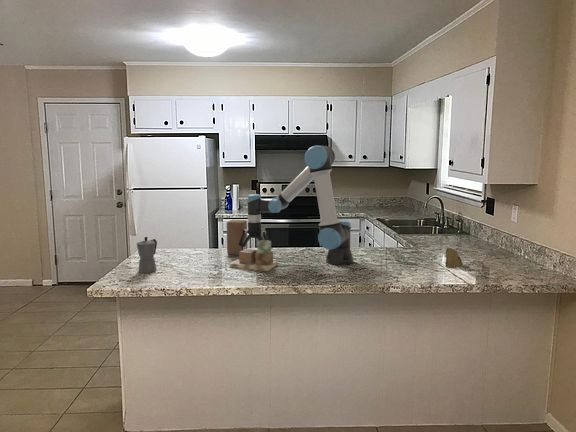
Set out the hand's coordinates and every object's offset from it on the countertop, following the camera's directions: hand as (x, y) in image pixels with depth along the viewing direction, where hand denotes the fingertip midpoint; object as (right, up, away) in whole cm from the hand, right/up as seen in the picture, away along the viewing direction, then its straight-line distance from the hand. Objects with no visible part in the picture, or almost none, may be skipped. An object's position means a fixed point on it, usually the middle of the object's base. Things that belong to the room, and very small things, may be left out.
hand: (254, 258), depth 255 cm
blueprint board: (0, -2, -16) cm, 16 cm away
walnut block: (-3, 0, -15) cm, 15 cm away
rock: (+108, -3, -17) cm, 110 cm away
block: (-12, +2, +14) cm, 18 cm away
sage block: (0, 0, 0) cm, 0 cm away
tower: (+6, -1, -18) cm, 19 cm away
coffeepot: (-53, -4, -24) cm, 59 cm away
